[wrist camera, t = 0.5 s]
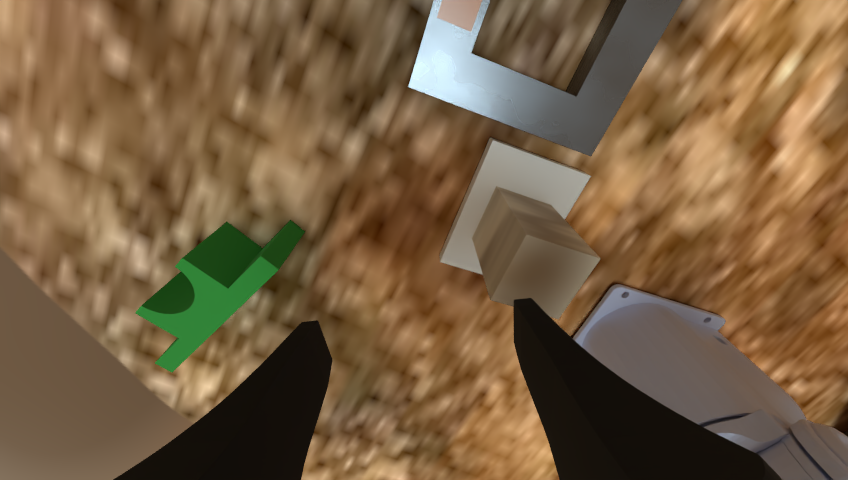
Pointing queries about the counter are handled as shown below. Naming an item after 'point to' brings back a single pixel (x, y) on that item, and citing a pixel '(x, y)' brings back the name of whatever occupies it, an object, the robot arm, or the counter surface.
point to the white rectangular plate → (515, 175)
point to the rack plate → (528, 98)
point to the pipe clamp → (214, 286)
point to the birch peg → (530, 253)
